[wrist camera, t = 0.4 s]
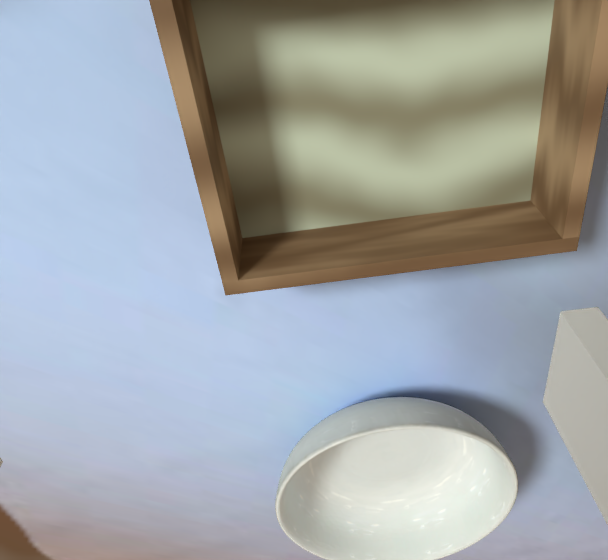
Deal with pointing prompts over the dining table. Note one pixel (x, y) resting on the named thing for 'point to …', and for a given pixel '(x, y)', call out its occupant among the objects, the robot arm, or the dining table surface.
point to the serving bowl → (395, 482)
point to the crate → (385, 130)
